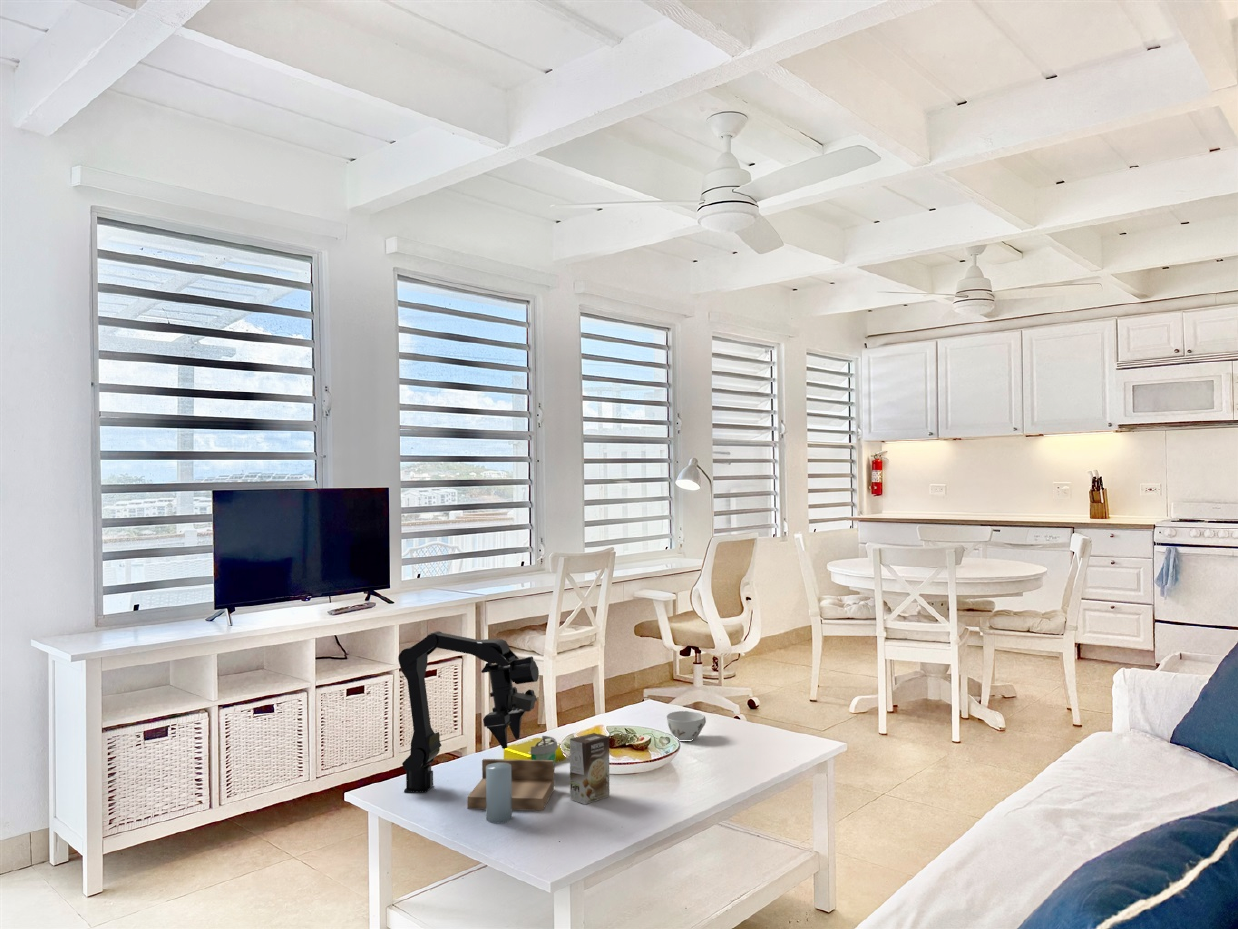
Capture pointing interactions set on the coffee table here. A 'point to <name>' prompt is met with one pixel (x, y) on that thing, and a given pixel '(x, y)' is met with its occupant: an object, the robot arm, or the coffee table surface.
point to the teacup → (685, 724)
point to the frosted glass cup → (498, 792)
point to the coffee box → (589, 768)
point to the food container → (545, 749)
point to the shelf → (520, 784)
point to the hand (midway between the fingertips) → (511, 743)
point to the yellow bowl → (528, 750)
